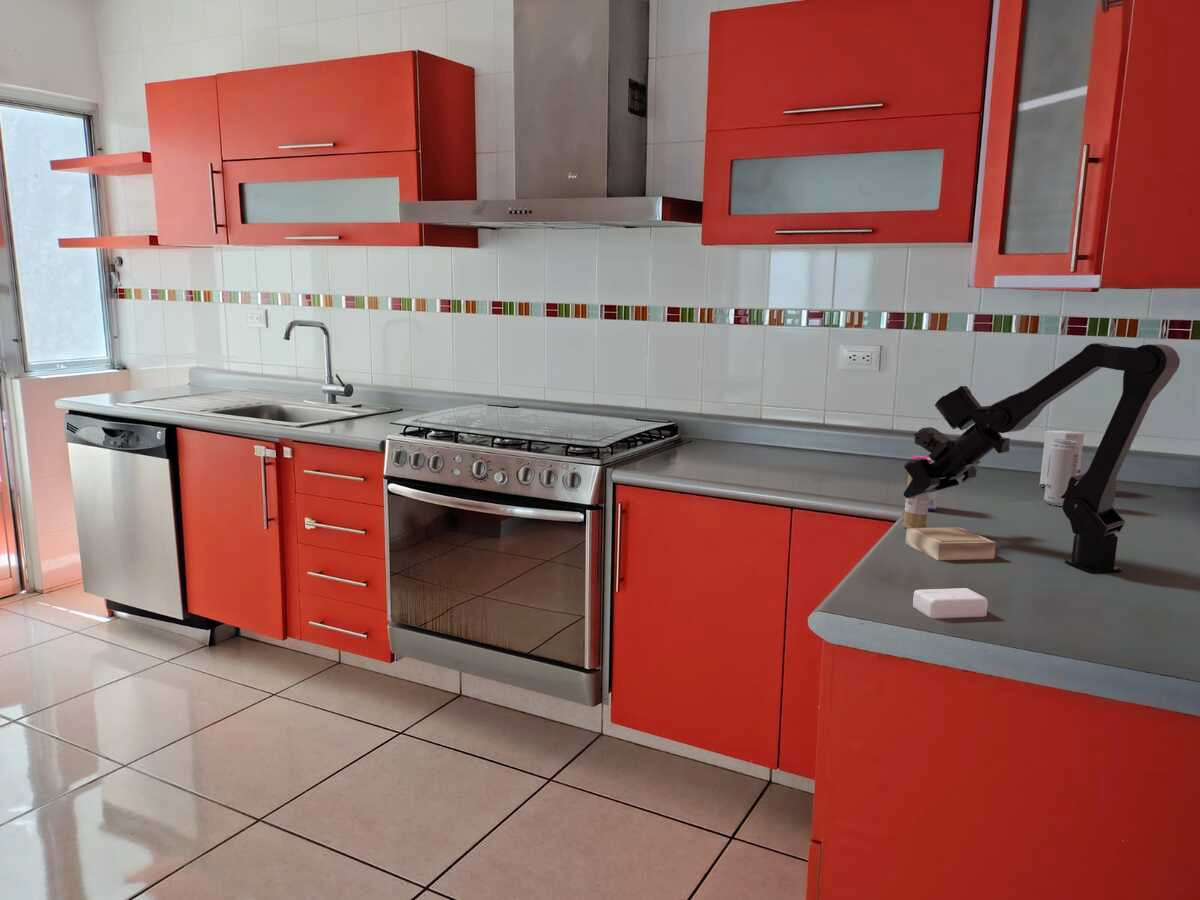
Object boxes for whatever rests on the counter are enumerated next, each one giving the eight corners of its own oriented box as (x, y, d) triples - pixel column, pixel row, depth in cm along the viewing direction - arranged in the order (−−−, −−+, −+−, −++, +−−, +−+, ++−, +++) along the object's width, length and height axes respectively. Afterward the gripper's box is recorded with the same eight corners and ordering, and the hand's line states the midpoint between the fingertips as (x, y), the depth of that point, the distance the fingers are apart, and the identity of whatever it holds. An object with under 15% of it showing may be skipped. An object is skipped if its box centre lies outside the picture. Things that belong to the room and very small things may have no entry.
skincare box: (1060, 492, 223) (1066, 433, 221) (1037, 487, 229) (1044, 430, 226) (1079, 489, 228) (1086, 432, 226) (1056, 485, 233) (1063, 428, 231)
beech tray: (994, 558, 158) (996, 541, 158) (937, 560, 156) (939, 542, 156) (958, 542, 169) (960, 526, 169) (905, 543, 167) (906, 527, 166)
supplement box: (933, 506, 201) (938, 456, 200) (936, 511, 196) (941, 460, 194) (906, 504, 203) (911, 454, 201) (908, 509, 197) (913, 458, 196)
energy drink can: (1044, 500, 212) (1051, 438, 210) (1073, 504, 209) (1080, 440, 207) (1042, 504, 207) (1049, 441, 205) (1071, 508, 204) (1079, 443, 202)
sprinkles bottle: (898, 525, 182) (904, 460, 180) (920, 525, 182) (926, 460, 180) (908, 530, 177) (914, 464, 175) (930, 531, 178) (936, 464, 176)
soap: (965, 606, 133) (967, 586, 132) (988, 618, 127) (990, 598, 127) (910, 608, 131) (912, 588, 130) (931, 621, 126) (933, 600, 125)
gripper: (967, 412, 179) (912, 459, 189) (918, 417, 167) (862, 466, 177) (1002, 457, 175) (944, 502, 184) (954, 465, 162) (894, 513, 172)
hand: (911, 494), depth 180 cm, fingers closed on sprinkles bottle, 4 cm apart
